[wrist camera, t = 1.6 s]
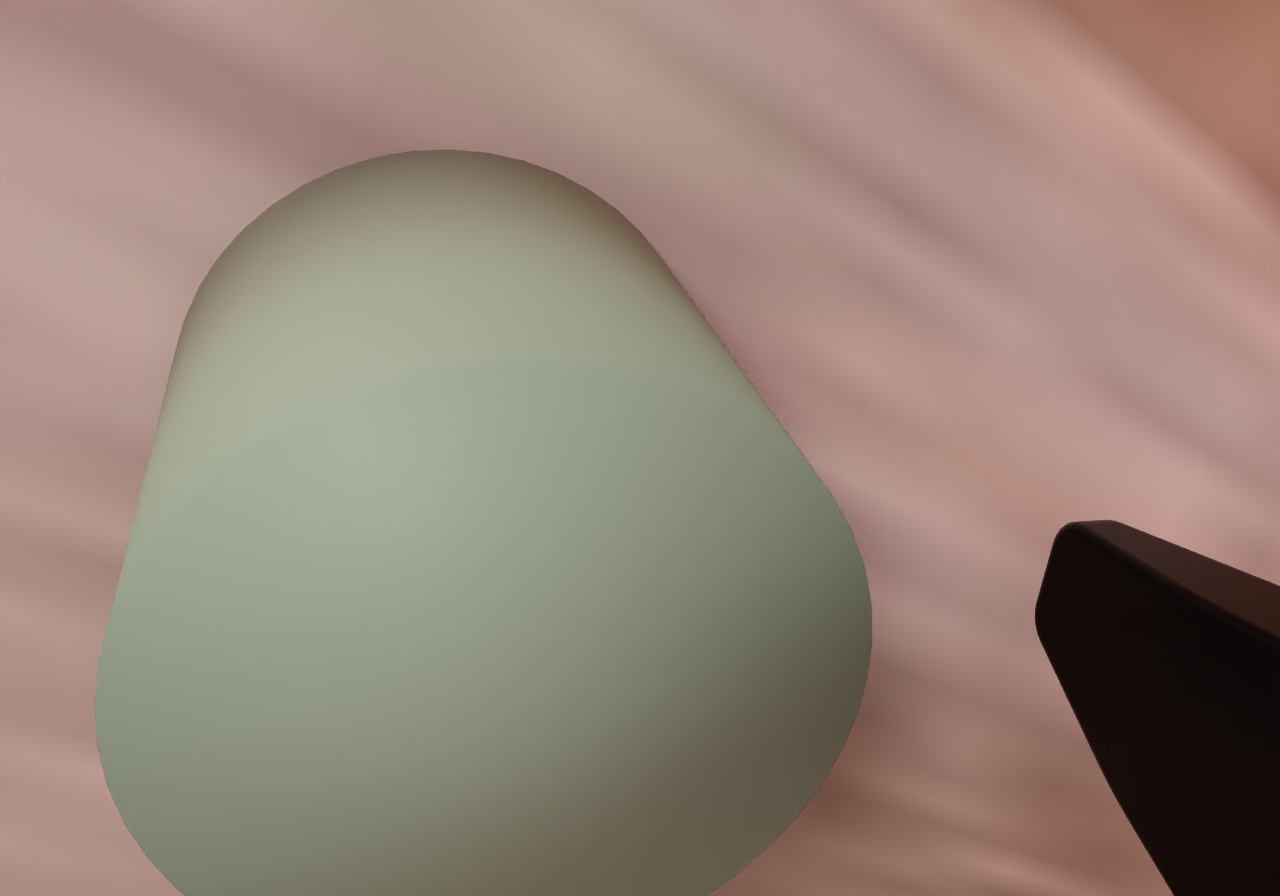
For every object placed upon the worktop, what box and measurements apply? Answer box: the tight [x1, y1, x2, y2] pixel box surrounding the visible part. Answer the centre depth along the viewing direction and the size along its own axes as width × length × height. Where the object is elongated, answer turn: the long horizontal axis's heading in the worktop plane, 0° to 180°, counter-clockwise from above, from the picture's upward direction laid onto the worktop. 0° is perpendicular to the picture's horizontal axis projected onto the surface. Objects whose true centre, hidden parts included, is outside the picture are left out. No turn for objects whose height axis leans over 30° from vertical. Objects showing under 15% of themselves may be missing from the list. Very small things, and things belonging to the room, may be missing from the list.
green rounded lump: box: [94, 150, 872, 896], centre depth 10 cm, size 5×5×4 cm
